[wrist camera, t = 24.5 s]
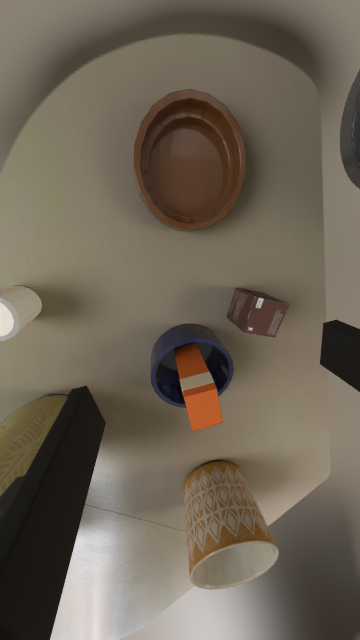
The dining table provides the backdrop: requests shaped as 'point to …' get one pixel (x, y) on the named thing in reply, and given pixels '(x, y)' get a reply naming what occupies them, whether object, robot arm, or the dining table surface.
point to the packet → (197, 388)
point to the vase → (25, 436)
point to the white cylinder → (17, 309)
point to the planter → (225, 528)
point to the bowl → (189, 160)
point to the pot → (166, 366)
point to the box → (256, 312)
